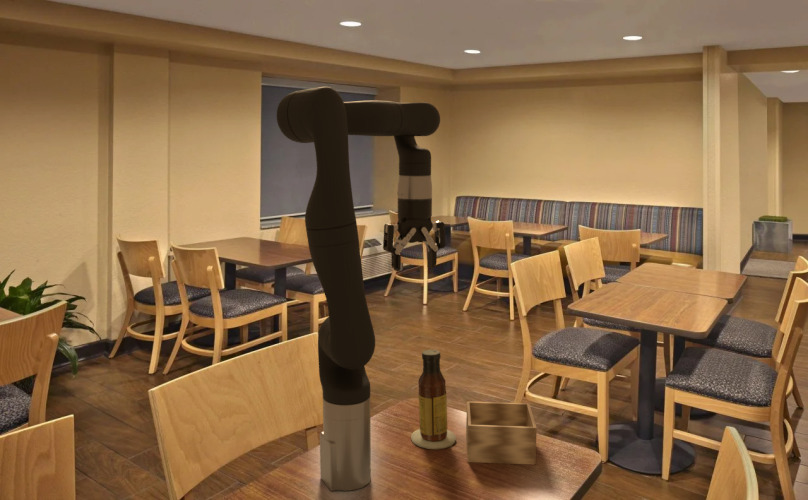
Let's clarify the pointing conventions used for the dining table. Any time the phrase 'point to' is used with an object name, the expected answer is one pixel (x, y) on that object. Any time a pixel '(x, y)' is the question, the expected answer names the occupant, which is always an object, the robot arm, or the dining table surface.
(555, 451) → the dining table surface
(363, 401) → the robot arm
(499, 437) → the caddy
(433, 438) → the sauce bottle
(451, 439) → the saucer
